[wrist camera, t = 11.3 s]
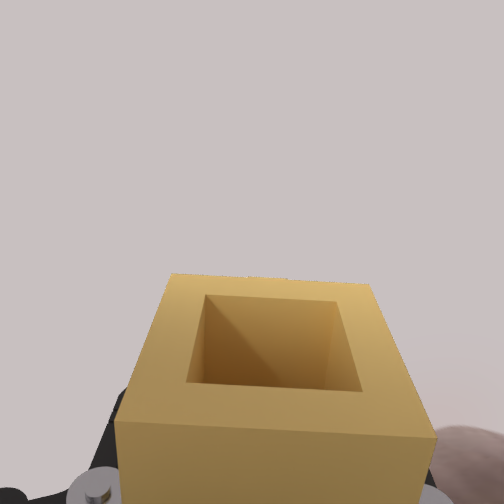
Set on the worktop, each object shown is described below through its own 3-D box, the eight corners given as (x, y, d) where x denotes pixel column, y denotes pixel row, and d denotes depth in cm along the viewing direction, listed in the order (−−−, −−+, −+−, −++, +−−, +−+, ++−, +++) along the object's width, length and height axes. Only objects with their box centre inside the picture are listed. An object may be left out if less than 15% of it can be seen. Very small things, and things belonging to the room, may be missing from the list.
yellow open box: (350, 735, 12) (437, 438, 7) (142, 725, 12) (113, 420, 7) (319, 493, 18) (357, 258, 14) (184, 486, 18) (180, 248, 14)
